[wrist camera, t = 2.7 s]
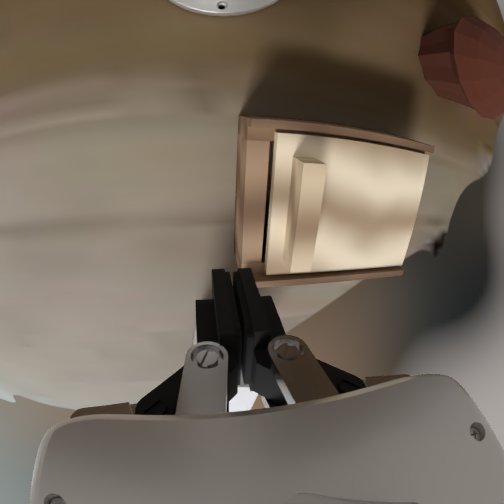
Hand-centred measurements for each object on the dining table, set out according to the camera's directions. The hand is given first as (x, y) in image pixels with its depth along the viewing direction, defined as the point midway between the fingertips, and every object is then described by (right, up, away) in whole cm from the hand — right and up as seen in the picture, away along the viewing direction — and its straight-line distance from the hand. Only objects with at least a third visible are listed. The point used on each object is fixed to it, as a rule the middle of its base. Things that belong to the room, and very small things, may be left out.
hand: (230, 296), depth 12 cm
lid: (+9, +6, +10) cm, 15 cm away
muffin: (+23, +24, +9) cm, 34 cm away
